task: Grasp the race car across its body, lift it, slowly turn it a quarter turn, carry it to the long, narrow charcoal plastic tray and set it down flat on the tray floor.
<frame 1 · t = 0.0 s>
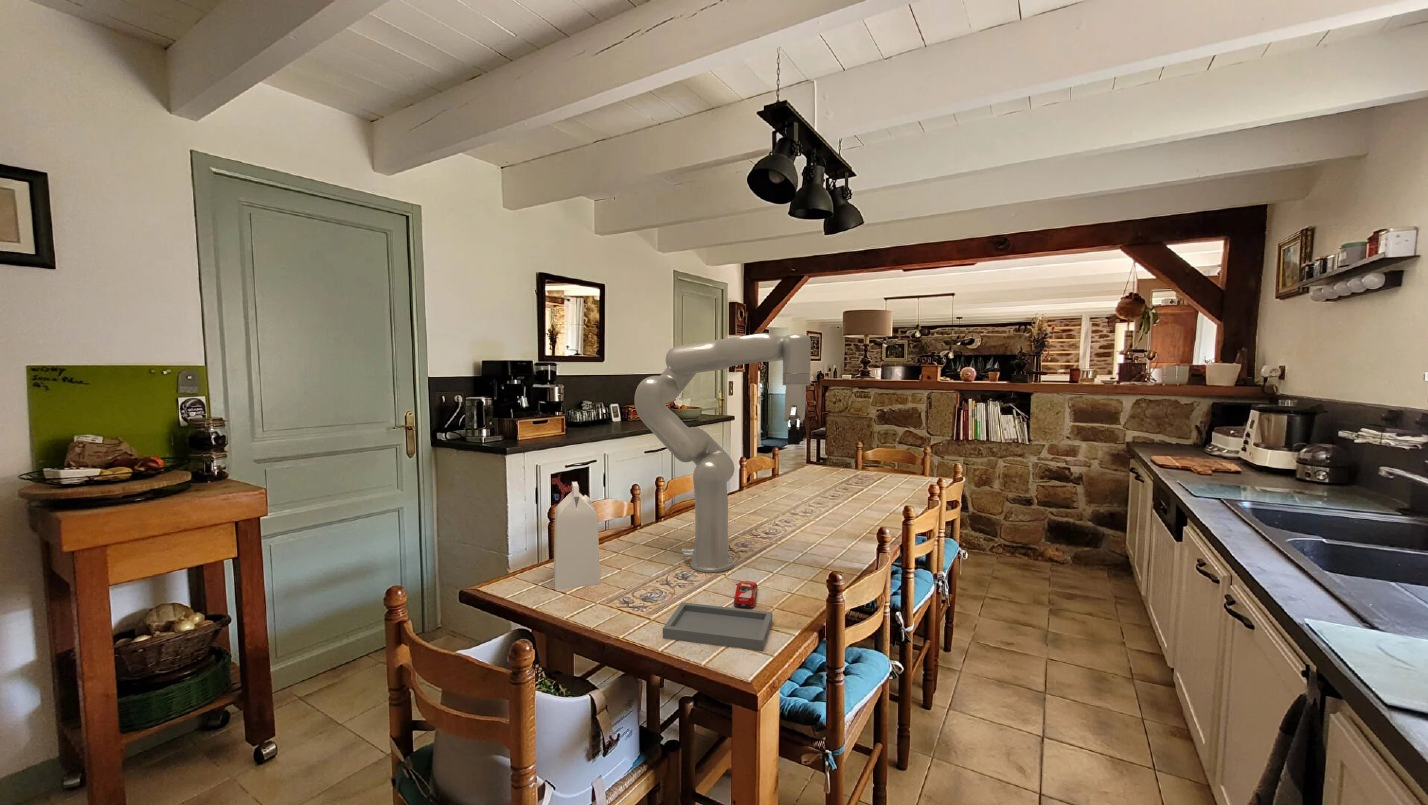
hand: (795, 442, 152), 37 cm above the table, tool pointing down, fingers open, 9 cm apart
milk: (576, 579, 150), on the table
tray: (719, 629, 121), on the table
race car: (746, 599, 138), on the table
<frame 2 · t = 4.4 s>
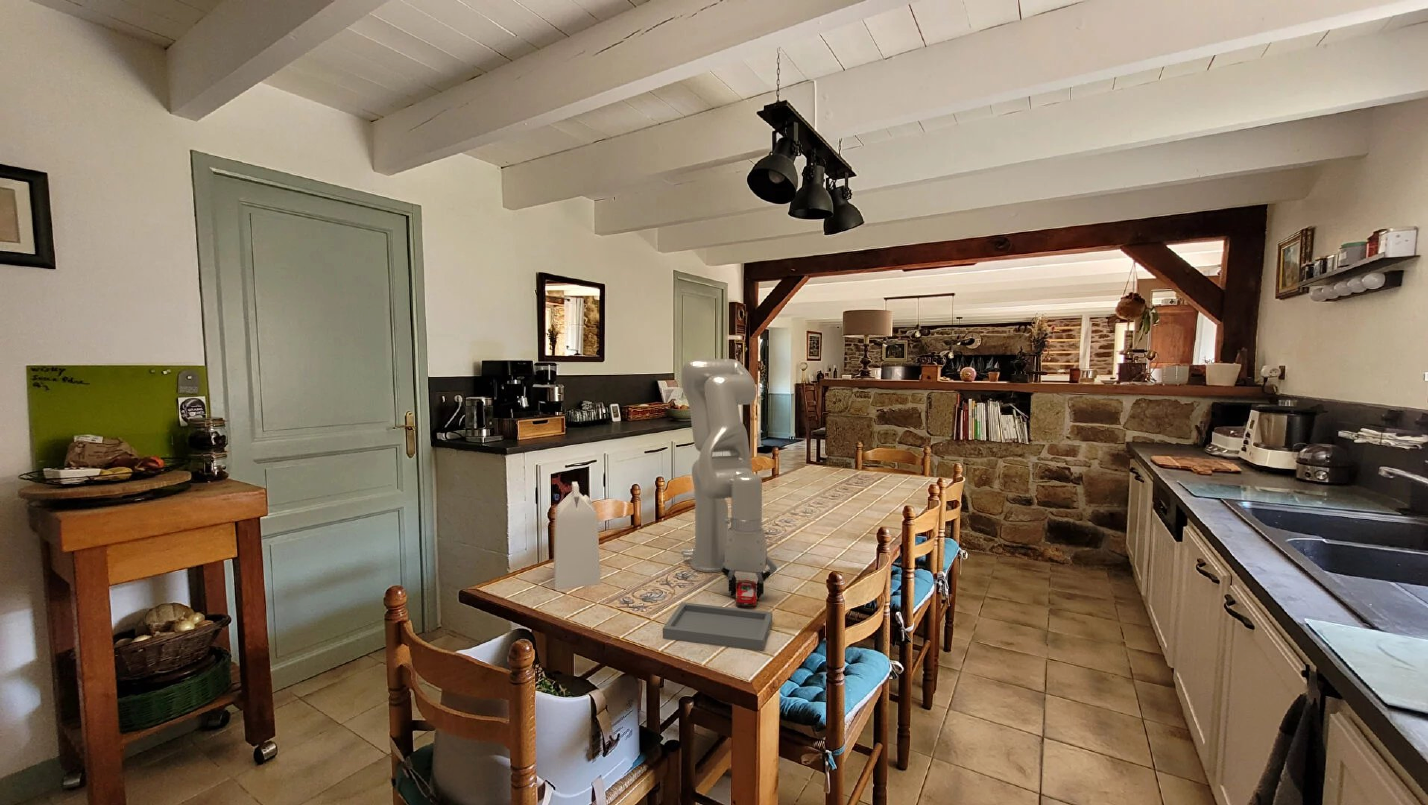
hand: (746, 594, 138), 1 cm above the table, tool pointing down, fingers closed on race car, 5 cm apart
race car: (746, 598, 138), on the table, touching gripper
everything else where it was.
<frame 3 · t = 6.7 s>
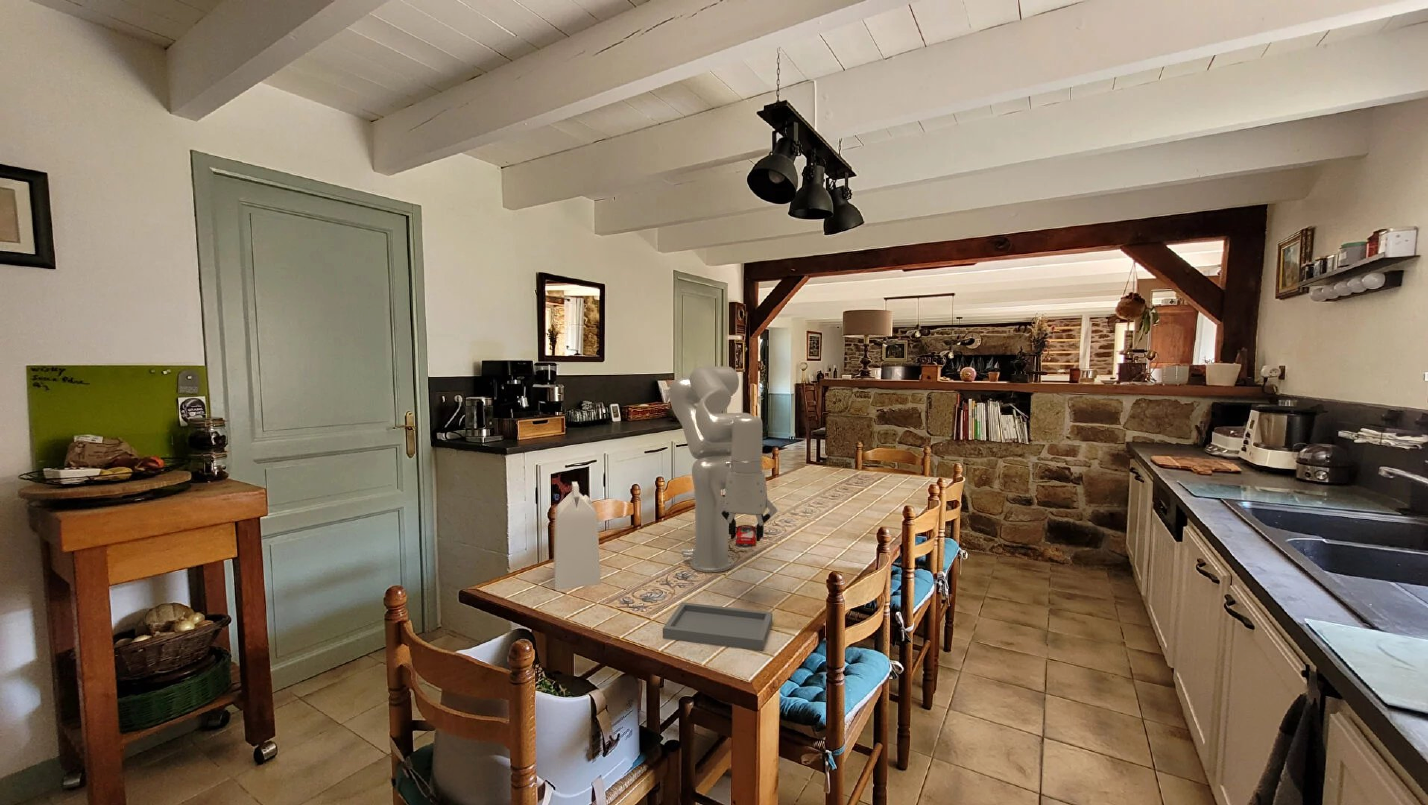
hand: (745, 537, 137), 15 cm above the table, tool pointing down, fingers closed on race car, 5 cm apart
race car: (746, 542, 137), point 14 cm above the table, touching gripper
everything else where it was.
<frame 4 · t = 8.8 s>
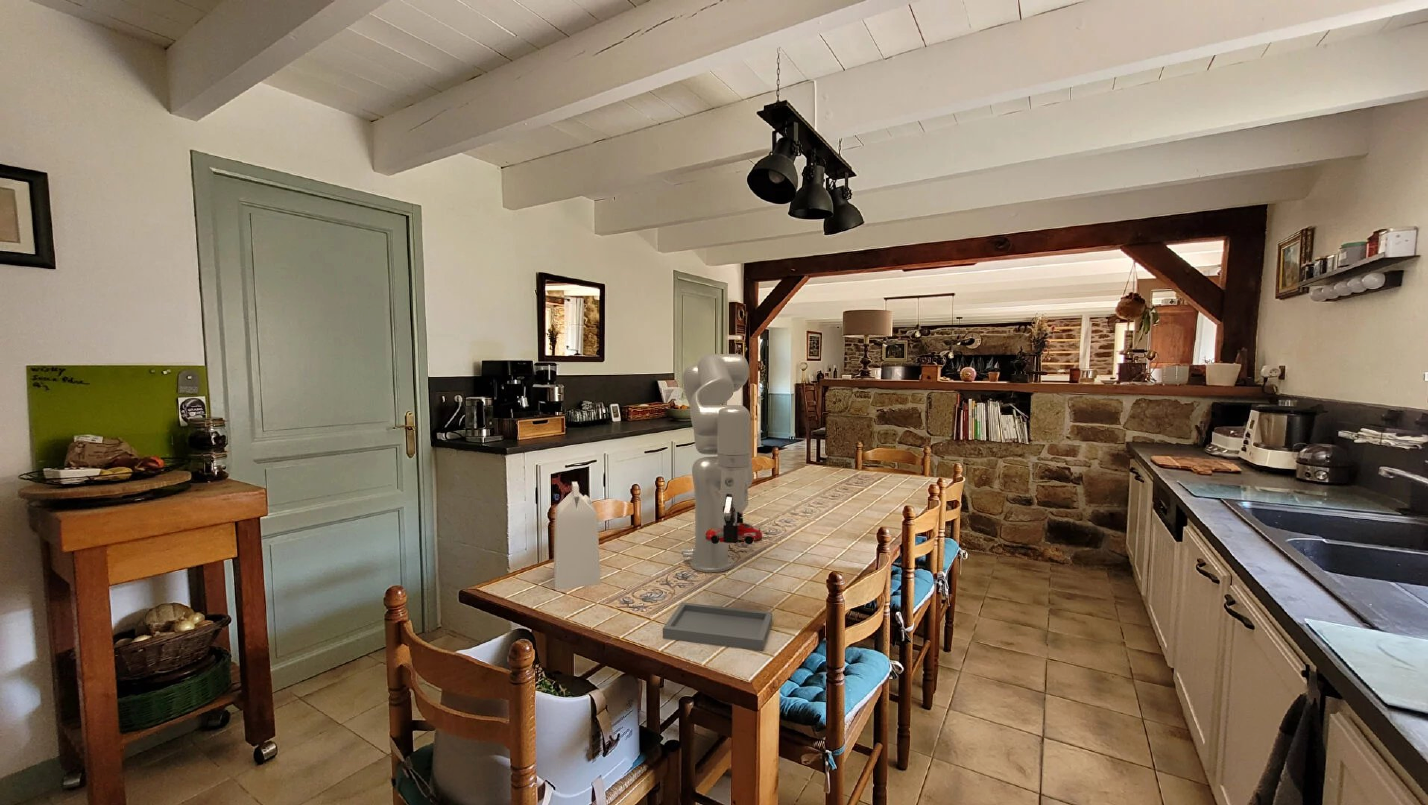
hand: (733, 537, 128), 18 cm above the table, tool pointing down, fingers closed on race car, 5 cm apart
race car: (733, 541, 129), point 17 cm above the table, touching gripper
everything else where it was.
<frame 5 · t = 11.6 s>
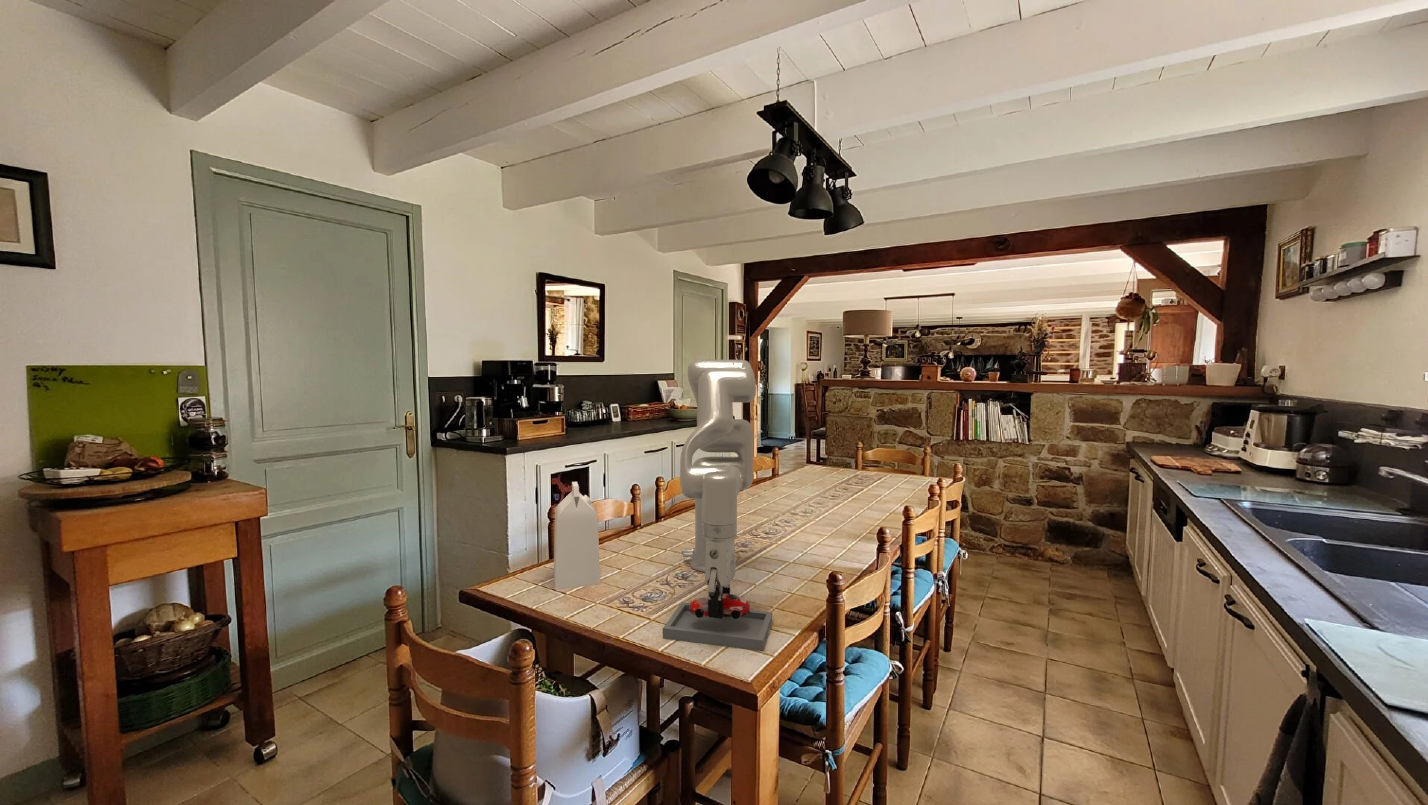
hand: (719, 610, 121), 4 cm above the table, tool pointing down, fingers closed on race car, 5 cm apart
race car: (719, 614, 121), point 3 cm above the table, touching gripper
everything else where it was.
when the fingers open (2 cm above the table, at t = 13.6 s): race car stays where it is, resting on tray.
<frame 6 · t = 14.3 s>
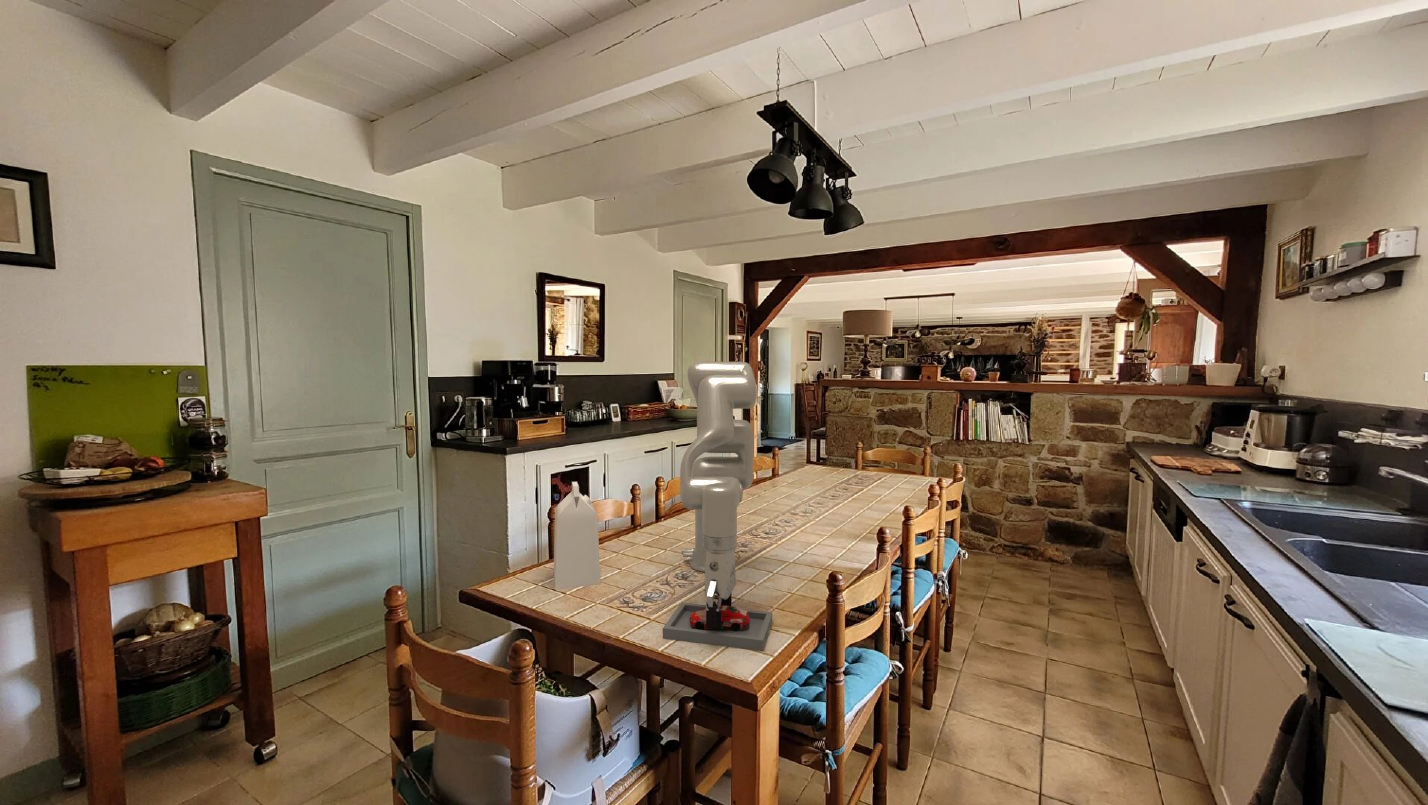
hand: (719, 618, 121), 3 cm above the table, tool pointing down, fingers open, 9 cm apart
race car: (719, 626, 121), point 1 cm above the table, touching tray
everything else where it was.
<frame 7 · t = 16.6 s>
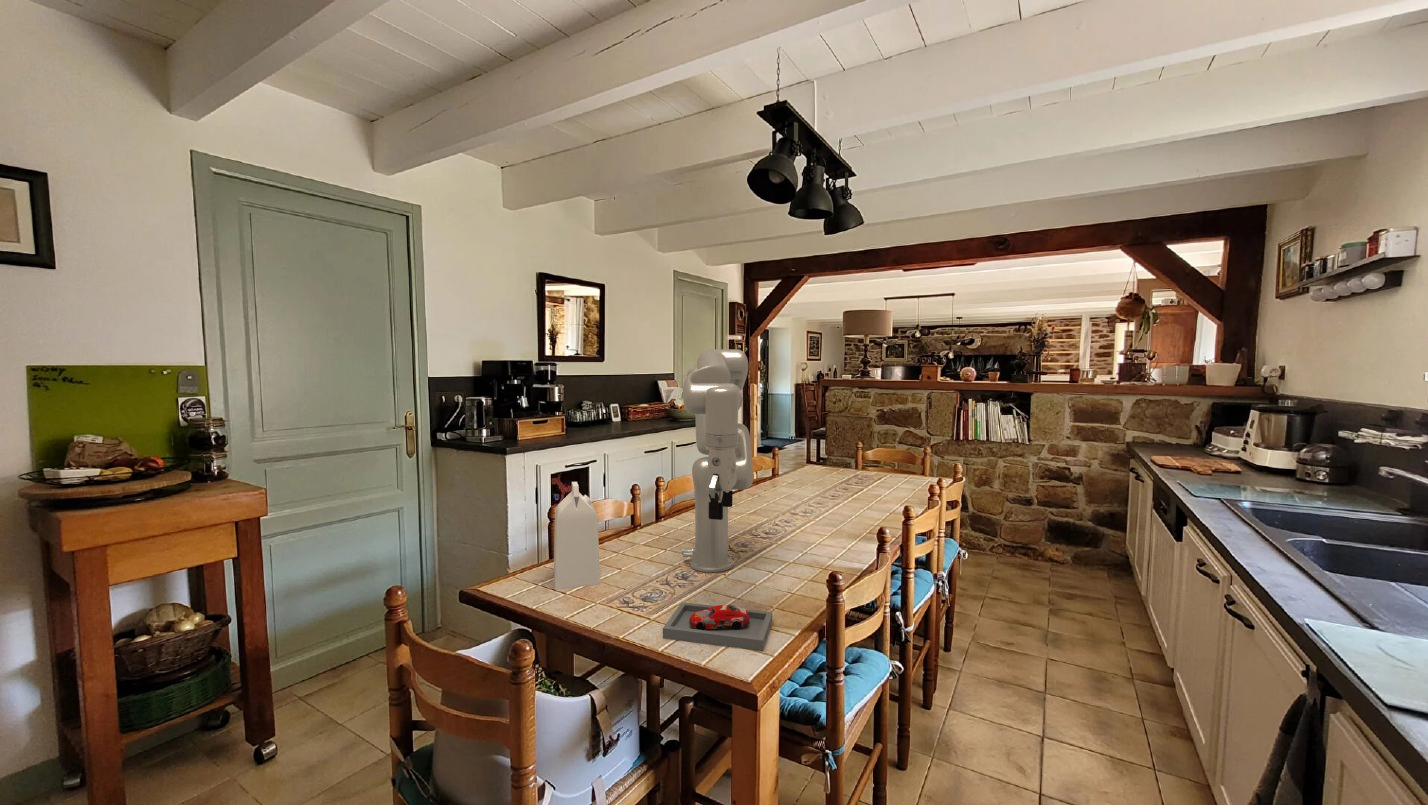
hand: (720, 512, 129), 23 cm above the table, tool pointing down, fingers open, 9 cm apart
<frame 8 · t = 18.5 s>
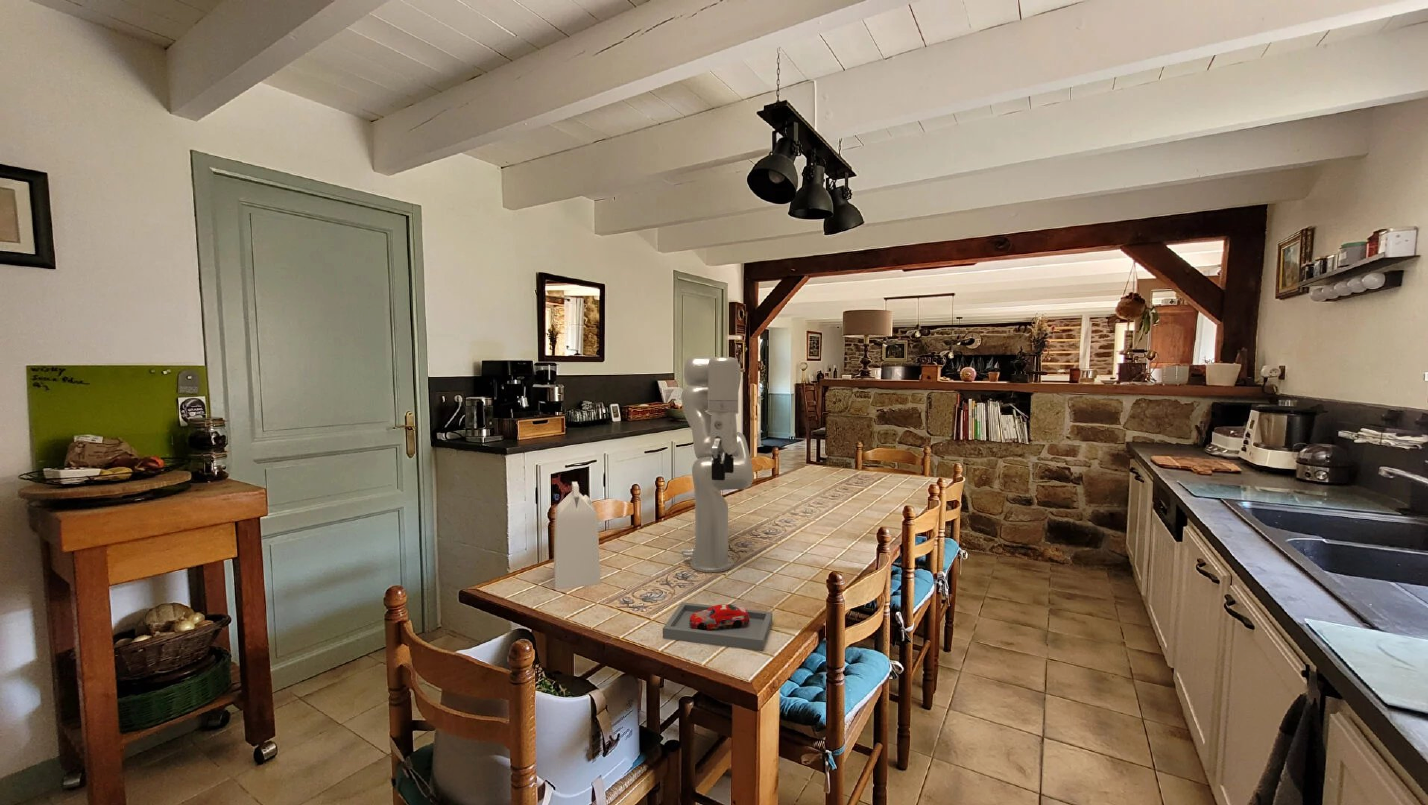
hand: (722, 476, 137), 30 cm above the table, tool pointing down, fingers open, 9 cm apart
nothing on the table moved.
at the end: race car inside the target area on the tray (0.6 cm from its centre), point 0.6 cm above the tray's base; race car touching tray; the gripper is holding nothing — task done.
